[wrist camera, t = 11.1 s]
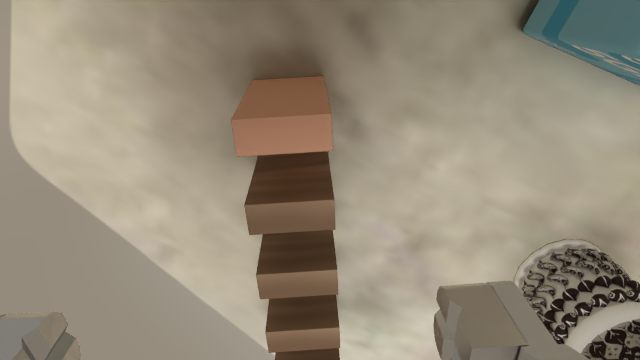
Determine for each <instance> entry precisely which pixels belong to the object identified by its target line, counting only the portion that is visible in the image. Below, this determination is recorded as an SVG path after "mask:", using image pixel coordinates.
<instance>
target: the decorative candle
mask: <svg viewBox="0 0 640 360" xmlns="http://www.w3.org/2000/svg"><path fill="white" fill-rule="evenodd" d="M514 284H516V286H517V287H518V289H519V290H520V292H521V293H522V294H523V296H524V297H525V299H526V300H527V302H528V303H529V304H530V306H531V307H532V309H533V310H534V311H535V313H536V314H537V316H538V317H539V319H540V320H541V321H542V320H543V321H542V323H543V324H544V326H545V327H546V329H547V330H548V331H549V333H550V334H551V336H552V337H553V338H554V340H555V341H556V343H557V344H566V345H568V346H569V347H571V348H573V349H574V350H576V351H577V352H579V353H581V354H582V355H584V356H585V357H587V358H588V359H590V360H640V284H639V283H638V282H636V281H633V280H631V278H630V276H629V275H628V274H627V273H626V272H625V270H624V269H623V268H622V267H620V266H619V265H617V264H615V263H614V262H613V261H612V260H611V258H610V257H609V256H608V255H606V254H605V253H601V251H600V250H599V248H598V247H597V246H595V245H593V244H591V243H588V242H586V241H584V240H570V239H565V240H561V241H558V242H554V243H551V244H547V245H545V246H544V247H542V248H540V249H539V250H537V251H535V252H534V253H532V254H531V255H530V256H529V257H528V258H527V259H526V260H525V261H524V262H523V263H522V265H521V266H520V267H519V269H518V271H517V274H516V277H515V279H514ZM552 334H553V335H552Z"/></svg>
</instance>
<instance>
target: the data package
mask: <svg viewBox="0 0 640 360" xmlns="http://www.w3.org/2000/svg"><path fill="white" fill-rule="evenodd" d="M523 31H524V33H525V34H527V35H528V36H530V37H532V38H534V39H537V40H539V41H541V42H543V43H546V44H548V45H550V46H552V47H555V48H557V49H559V50H561V51H564V52H566V53H568V54H570V55H572V56H575V57H577V58H579V59H581V60H584V61H586V62H588V63H590V64H593V65H595V66H597V67H599V68H602V69H604V70H606V71H608V72H610V73H613V74H615V75H617V76H619V77H622V78H624V79H626V80H628V81H631V82H633V83H635V84H638V85H640V0H539V2H538V4H537V6H536V7H535V9H534V11H533V13H532V14H531V16H530V18H529V20H528V21H527V23H526V25H525V27H524V29H523Z"/></svg>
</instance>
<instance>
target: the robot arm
mask: <svg viewBox="0 0 640 360" xmlns="http://www.w3.org/2000/svg"><path fill="white" fill-rule="evenodd" d="M437 302H438V304H439V307H440V310H439V311H438V312H437V313H436V314H435V316H434V334H435V341H436V345H437V349H438V352H439V355H440V358H441V360H590V359H588V358H587V357H585V356H584V355H582V354H581V353H579V352H577V351H576V350H574V349H573V348H571V347H569V346H568V345H566V344H557V343H556V341H555V340H554V338H553V337H552V336H551V334H550V333H549V331H548V330H547V329H546V327H545V326H544V324H543V323H542V321H541V320H540V319H539V317H538V316H537V314H536V313H535V311H534V310H533V309H532V307H531V306H530V304H529V303H528V302H527V300H526V299H525V297H524V296H523V294H522V293H521V292H520V290H519V289H518V287H517V286H516V284H514V283H513V282H511V281H501V282H488V283H475V284H462V285H449V286H440V287H439V289H438V293H437ZM67 326H68V322H67V321H66V319H65V317H64V316H63V314H62V313H59V312H39V313H38V312H36V313H12V314H0V360H80V358H81V353H80V346H79V344H78V342H77V340H76V338H75V337H73V336H72V335H70V334H69V333H67V332H65V330H66V328H67Z"/></svg>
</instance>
